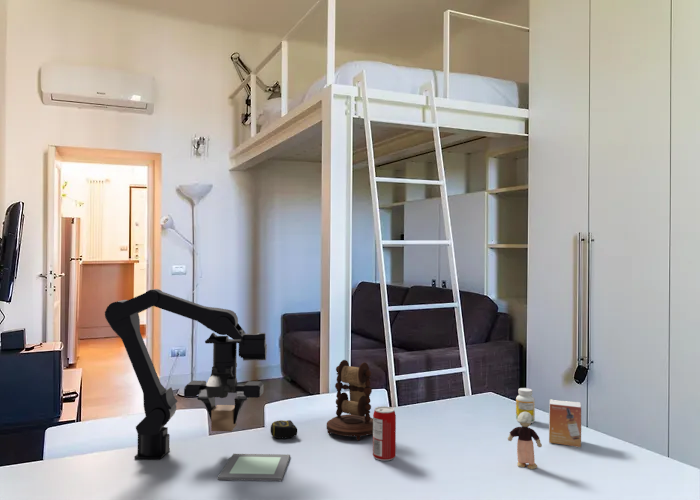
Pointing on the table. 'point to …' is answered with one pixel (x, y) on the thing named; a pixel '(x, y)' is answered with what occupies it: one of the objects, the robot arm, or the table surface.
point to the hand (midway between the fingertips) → (224, 423)
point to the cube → (222, 418)
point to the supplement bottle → (525, 403)
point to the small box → (565, 423)
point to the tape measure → (283, 429)
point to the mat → (255, 467)
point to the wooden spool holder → (352, 402)
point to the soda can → (384, 433)
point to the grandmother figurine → (525, 441)
